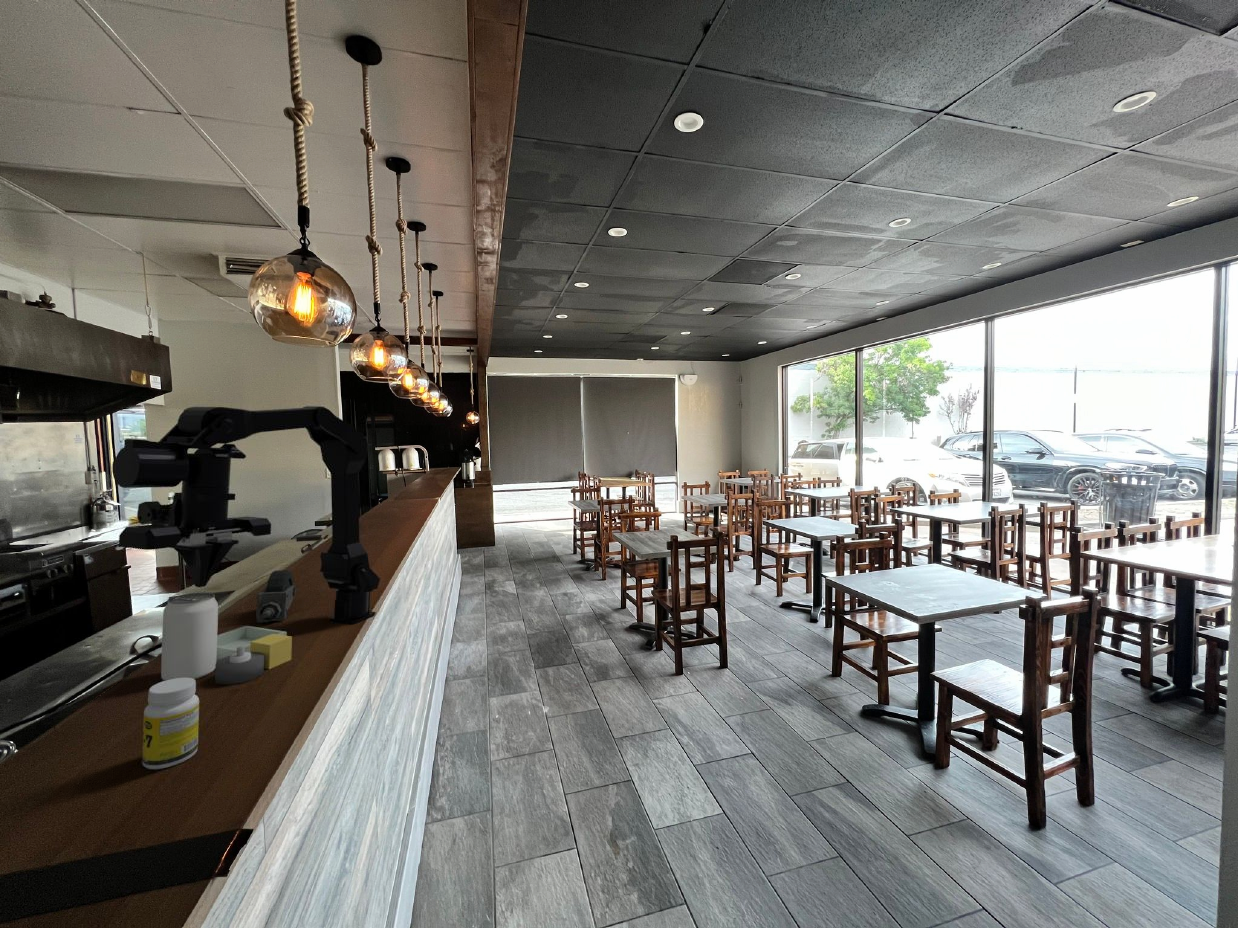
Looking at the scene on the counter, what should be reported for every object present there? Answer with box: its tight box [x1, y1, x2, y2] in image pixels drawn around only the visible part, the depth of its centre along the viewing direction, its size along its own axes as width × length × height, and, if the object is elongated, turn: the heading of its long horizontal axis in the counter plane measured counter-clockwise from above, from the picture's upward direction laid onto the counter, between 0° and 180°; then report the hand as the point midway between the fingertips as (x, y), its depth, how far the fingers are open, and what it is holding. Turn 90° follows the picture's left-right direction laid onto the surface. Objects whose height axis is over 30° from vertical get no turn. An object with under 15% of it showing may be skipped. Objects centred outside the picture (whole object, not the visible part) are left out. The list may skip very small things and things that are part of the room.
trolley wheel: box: [214, 646, 265, 685], centre depth 77 cm, size 6×6×4 cm
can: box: [160, 592, 219, 681], centre depth 77 cm, size 6×6×12 cm
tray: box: [216, 625, 288, 662], centre depth 86 cm, size 9×9×2 cm
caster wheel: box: [255, 569, 297, 624], centre depth 104 cm, size 6×10×15 cm
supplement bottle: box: [141, 678, 200, 770], centre depth 56 cm, size 5×5×8 cm
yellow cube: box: [250, 634, 293, 670], centre depth 82 cm, size 4×4×4 cm
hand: (200, 586), depth 77 cm, fingers closed
